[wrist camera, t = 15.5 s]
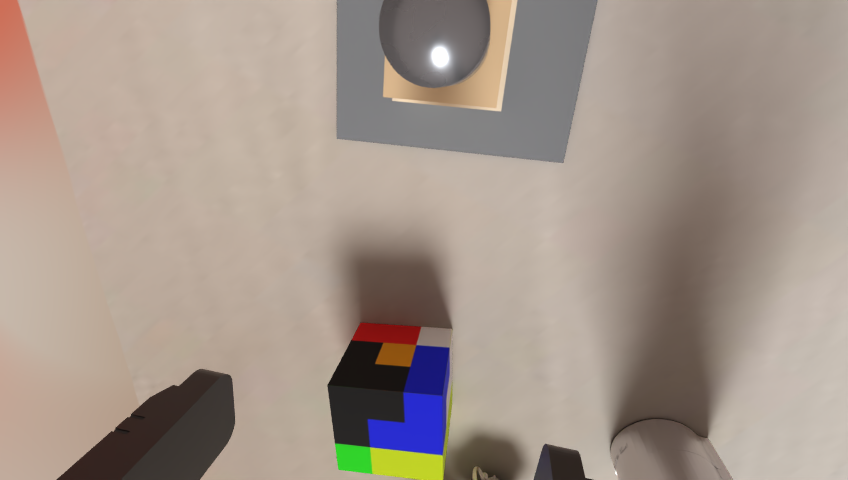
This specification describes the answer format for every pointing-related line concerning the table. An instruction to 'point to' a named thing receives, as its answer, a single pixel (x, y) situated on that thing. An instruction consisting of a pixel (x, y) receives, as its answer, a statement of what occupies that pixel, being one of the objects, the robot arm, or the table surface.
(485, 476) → the chinaware
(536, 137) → the slate mat
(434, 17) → the metal cylinder
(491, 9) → the top block
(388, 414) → the puzzle toy
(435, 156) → the table surface
